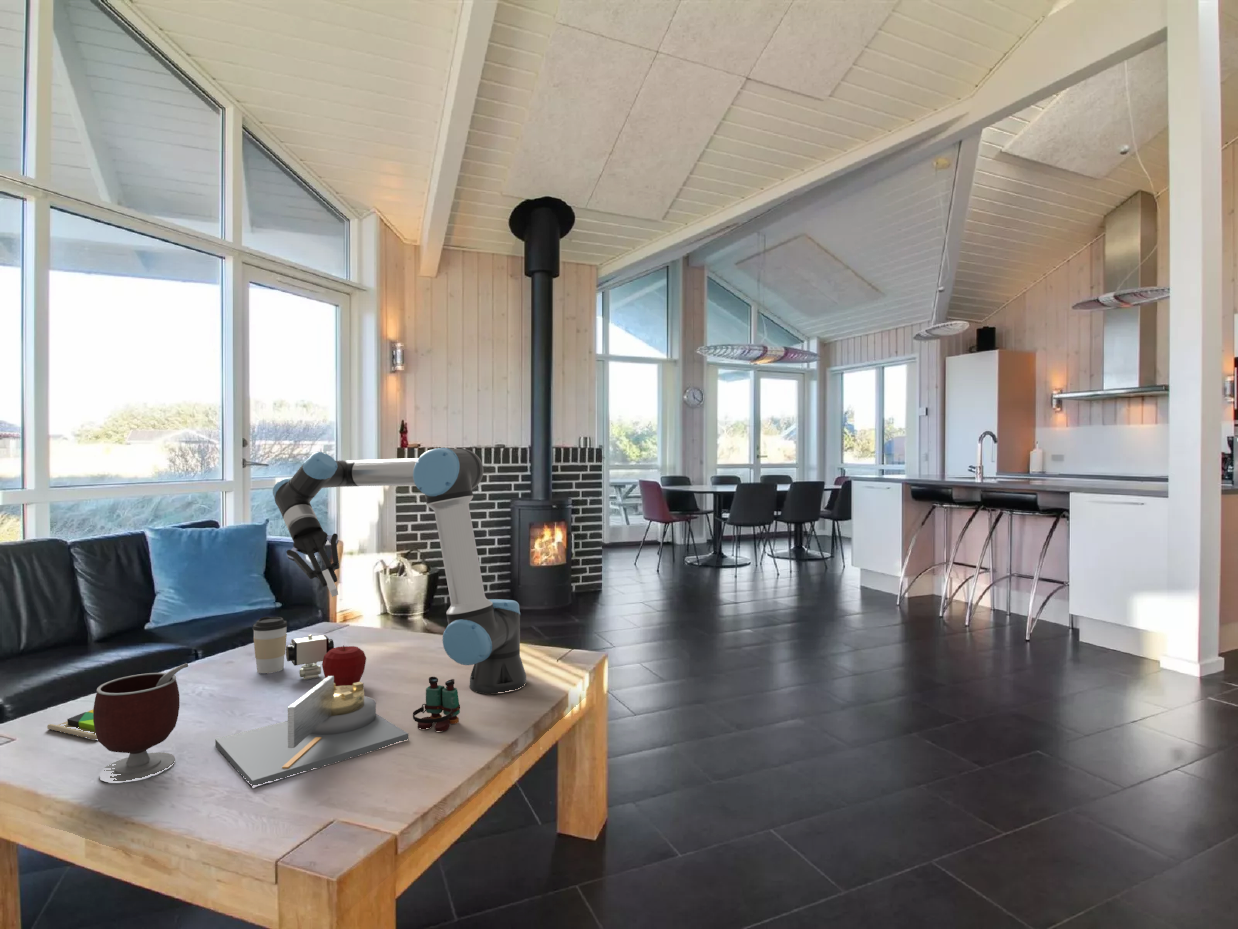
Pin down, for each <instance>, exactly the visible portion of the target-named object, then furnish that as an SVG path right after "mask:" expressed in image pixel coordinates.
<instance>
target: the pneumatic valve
mask: <svg viewBox="0 0 1238 929" xmlns="http://www.w3.org/2000/svg"><path fill="white" fill-rule="evenodd" d="M307 636H308V637H306V636H305V637H302V638H301V637H299V638H293V639H291V642H290V643H289V644H286V650H285V658H286V662H291V663H292V664H293V666H301V667H300V669H299V671H298V672H299V677H300V678H302V679H303V680H304V681H307V680H314V679H318V677H319V675H321V673H322V665H317V663H319V662H320V663H321V662H323V659H324V656H325V654H326V653H327V652H329V651H330V650H331V649H333V648H335V645H334V639H333V638H329V637H328V636H327V635H326V634H322V635H315V636H313V634H308V635H307Z"/></svg>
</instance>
